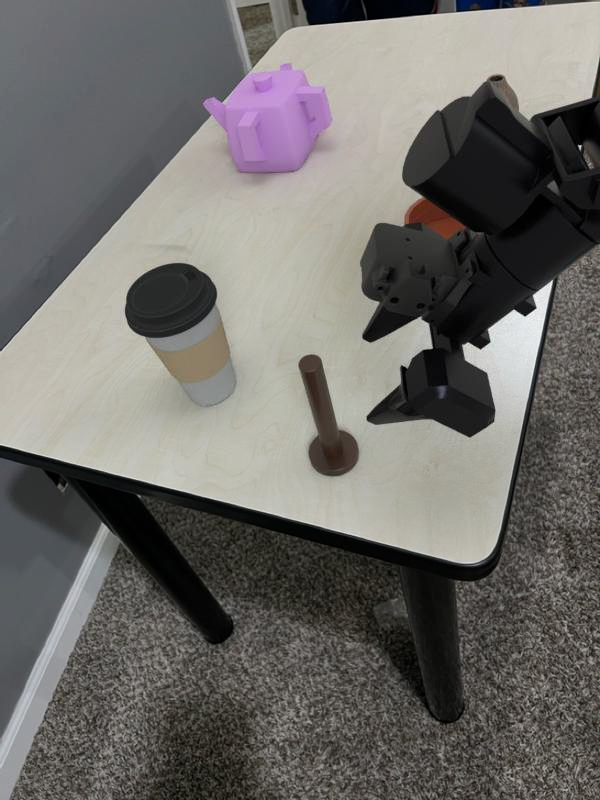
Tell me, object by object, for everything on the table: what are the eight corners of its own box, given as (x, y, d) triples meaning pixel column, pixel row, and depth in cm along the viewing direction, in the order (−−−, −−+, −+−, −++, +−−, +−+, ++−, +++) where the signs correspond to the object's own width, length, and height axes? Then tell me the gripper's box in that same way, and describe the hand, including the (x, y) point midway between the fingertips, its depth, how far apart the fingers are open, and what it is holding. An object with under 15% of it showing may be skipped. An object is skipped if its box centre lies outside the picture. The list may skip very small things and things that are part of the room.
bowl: (477, 210, 80) (478, 180, 77) (509, 260, 73) (512, 229, 70) (396, 232, 81) (393, 203, 77) (420, 283, 74) (419, 253, 70)
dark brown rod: (353, 429, 62) (333, 334, 51) (364, 469, 58) (345, 377, 48) (306, 441, 62) (276, 349, 51) (314, 481, 59) (285, 392, 48)
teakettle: (256, 191, 94) (235, 114, 85) (215, 152, 105) (192, 80, 95) (348, 148, 97) (337, 68, 88) (298, 114, 108) (284, 40, 98)
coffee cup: (265, 367, 70) (229, 266, 58) (222, 429, 65) (174, 332, 54) (201, 349, 74) (155, 251, 62) (156, 406, 69) (98, 311, 58)
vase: (526, 138, 89) (532, 77, 82) (485, 154, 88) (488, 95, 82) (499, 120, 93) (503, 61, 87) (460, 136, 93) (461, 78, 86)
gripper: (413, 123, 43) (293, 264, 53) (445, 296, 31) (284, 434, 42) (516, 202, 48) (388, 317, 58) (578, 377, 36) (404, 484, 46)
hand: (368, 378), depth 51 cm, fingers open, 9 cm apart
